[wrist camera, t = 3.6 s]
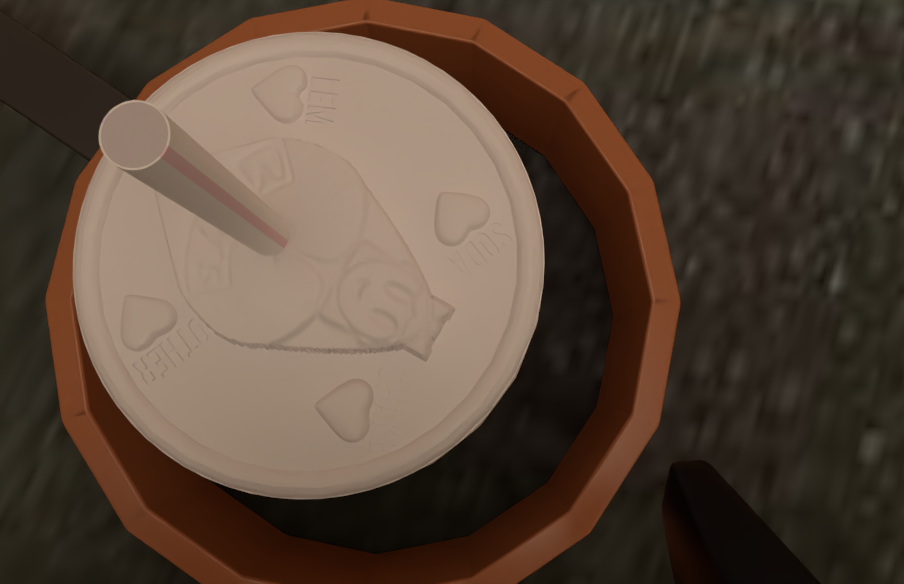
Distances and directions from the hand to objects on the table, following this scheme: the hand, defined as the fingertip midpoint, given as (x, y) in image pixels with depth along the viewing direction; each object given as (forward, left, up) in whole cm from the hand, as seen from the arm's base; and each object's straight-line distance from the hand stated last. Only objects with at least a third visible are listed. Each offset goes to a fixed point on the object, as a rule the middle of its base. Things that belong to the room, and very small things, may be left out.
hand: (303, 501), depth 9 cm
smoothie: (+2, -2, -10) cm, 11 cm away
